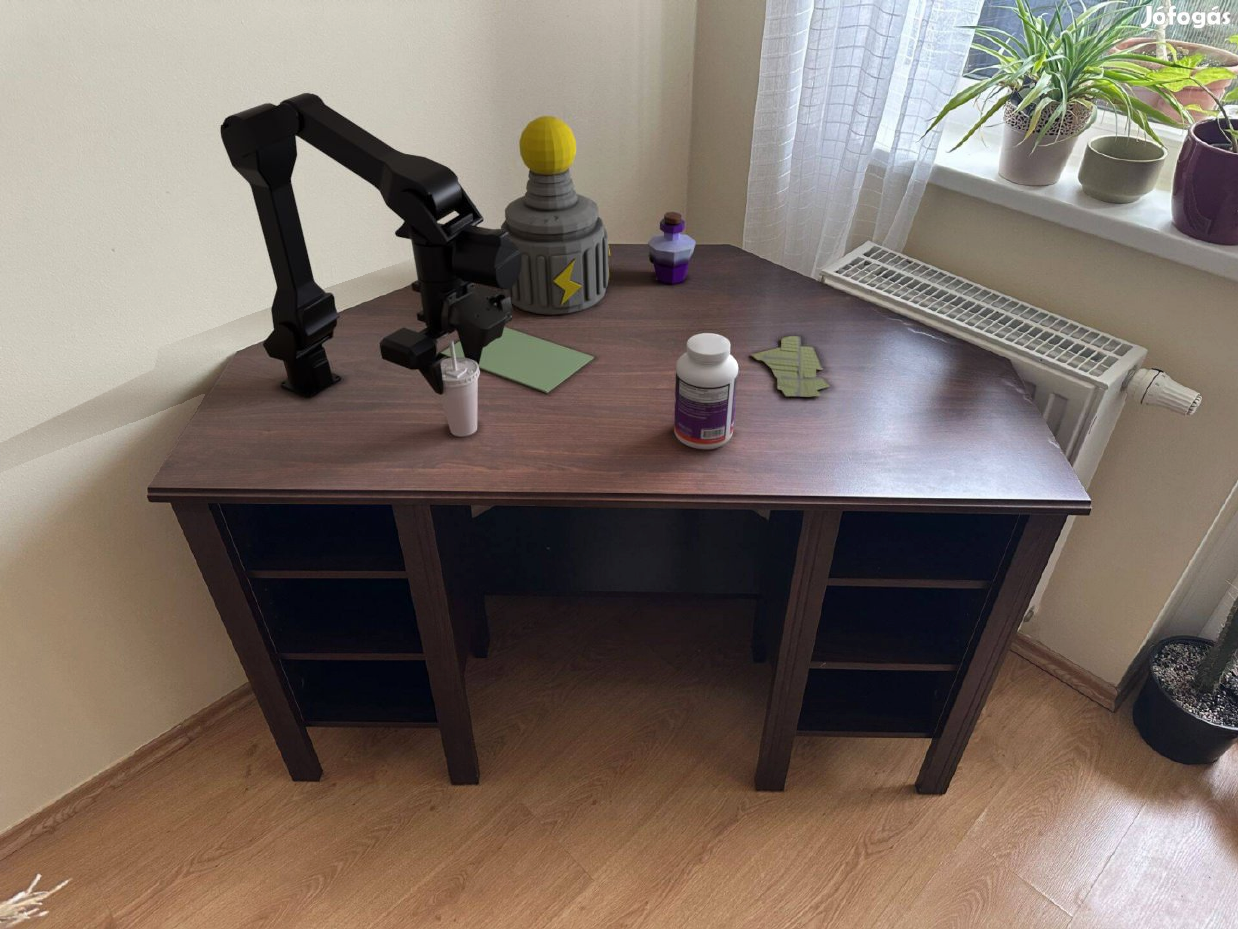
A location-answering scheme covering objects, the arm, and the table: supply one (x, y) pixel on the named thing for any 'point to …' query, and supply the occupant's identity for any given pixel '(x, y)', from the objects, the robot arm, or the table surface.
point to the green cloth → (528, 360)
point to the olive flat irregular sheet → (794, 367)
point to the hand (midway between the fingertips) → (456, 382)
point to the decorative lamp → (555, 228)
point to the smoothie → (460, 393)
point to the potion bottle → (671, 250)
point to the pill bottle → (705, 392)
